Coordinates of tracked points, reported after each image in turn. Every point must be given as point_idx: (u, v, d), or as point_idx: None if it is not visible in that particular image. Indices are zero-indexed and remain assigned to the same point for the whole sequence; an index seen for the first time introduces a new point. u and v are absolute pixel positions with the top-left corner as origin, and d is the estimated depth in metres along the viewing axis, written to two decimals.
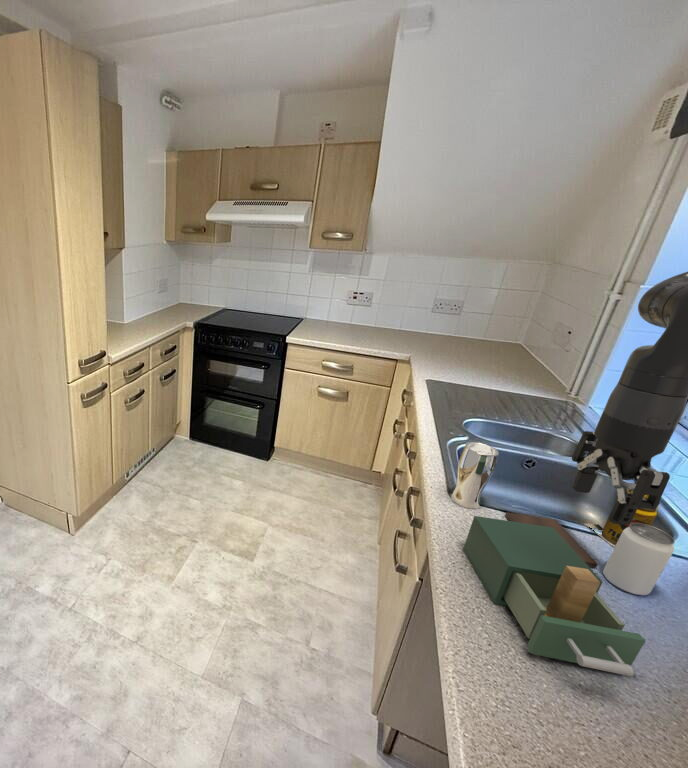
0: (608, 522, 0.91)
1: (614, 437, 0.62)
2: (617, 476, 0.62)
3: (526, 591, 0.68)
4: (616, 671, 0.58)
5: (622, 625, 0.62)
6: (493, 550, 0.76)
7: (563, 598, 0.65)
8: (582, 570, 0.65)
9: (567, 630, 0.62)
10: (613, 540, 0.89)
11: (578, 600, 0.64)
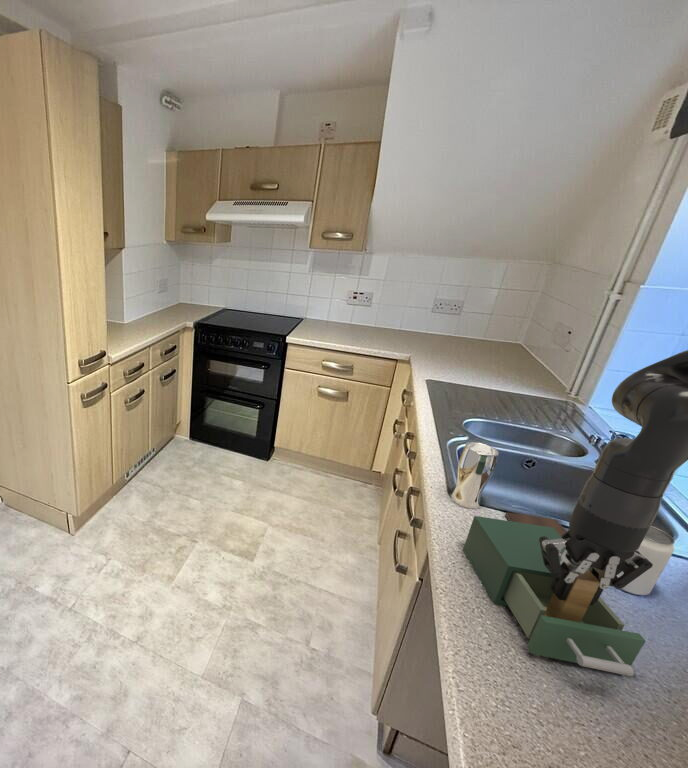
0: None
1: None
2: (565, 550, 0.65)
3: (526, 591, 0.68)
4: (616, 671, 0.58)
5: (622, 625, 0.62)
6: (493, 550, 0.76)
7: None
8: None
9: (567, 630, 0.62)
10: None
11: (578, 600, 0.64)
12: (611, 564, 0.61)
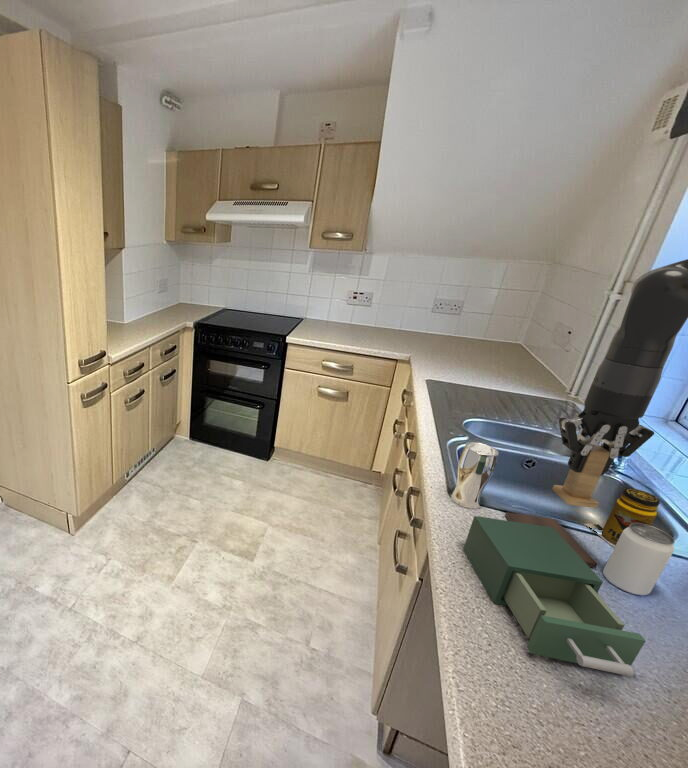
0: (608, 522, 0.91)
1: None
2: (581, 429, 0.77)
3: (526, 591, 0.68)
4: (616, 671, 0.58)
5: (622, 625, 0.62)
6: (493, 550, 0.76)
7: None
8: (595, 446, 0.76)
9: (567, 630, 0.62)
10: (613, 540, 0.89)
11: (591, 470, 0.76)
12: (620, 434, 0.73)
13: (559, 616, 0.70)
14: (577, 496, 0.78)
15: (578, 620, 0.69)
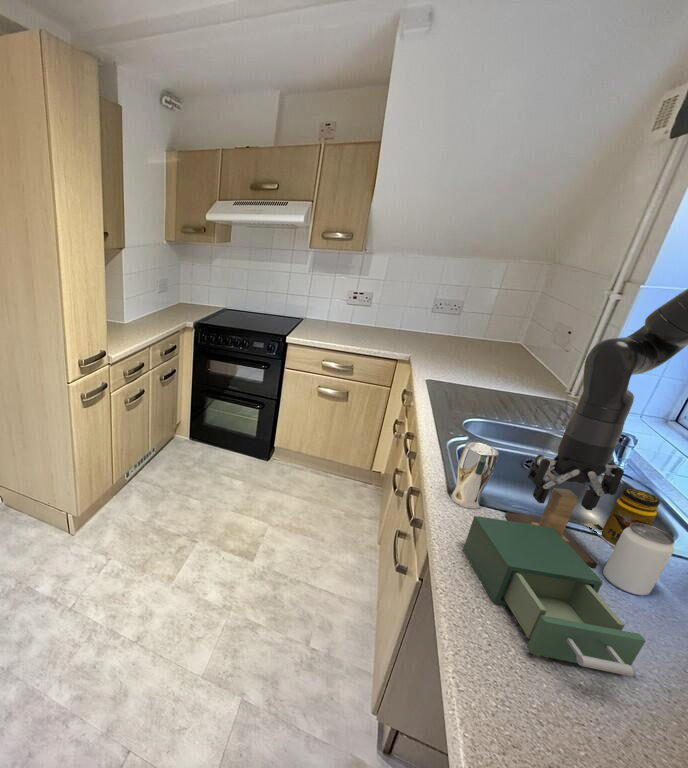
0: (608, 522, 0.91)
1: None
2: (551, 468, 0.87)
3: (526, 591, 0.68)
4: (616, 671, 0.58)
5: (622, 625, 0.62)
6: (493, 550, 0.76)
7: (551, 512, 0.87)
8: (565, 490, 0.87)
9: (567, 630, 0.62)
10: (613, 540, 0.89)
11: (562, 512, 0.86)
12: (592, 477, 0.82)
13: (559, 616, 0.70)
14: None
15: (578, 620, 0.69)
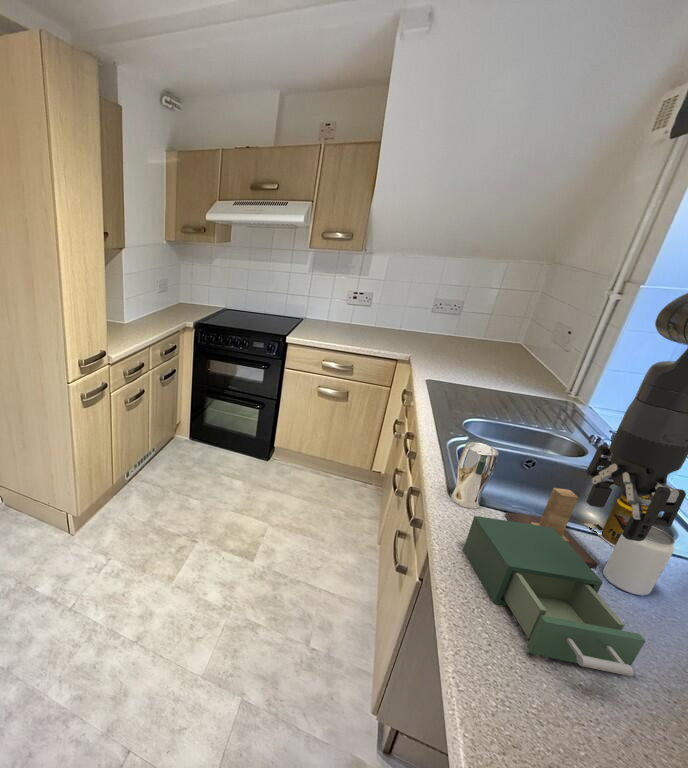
0: (608, 522, 0.91)
1: (629, 453, 0.61)
2: (632, 492, 0.62)
3: (526, 591, 0.68)
4: (616, 671, 0.58)
5: (622, 625, 0.62)
6: (493, 550, 0.76)
7: (551, 512, 0.87)
8: (565, 490, 0.87)
9: (567, 630, 0.62)
10: (613, 540, 0.89)
11: (562, 512, 0.86)
12: None
13: (559, 616, 0.70)
14: None
15: (578, 620, 0.69)
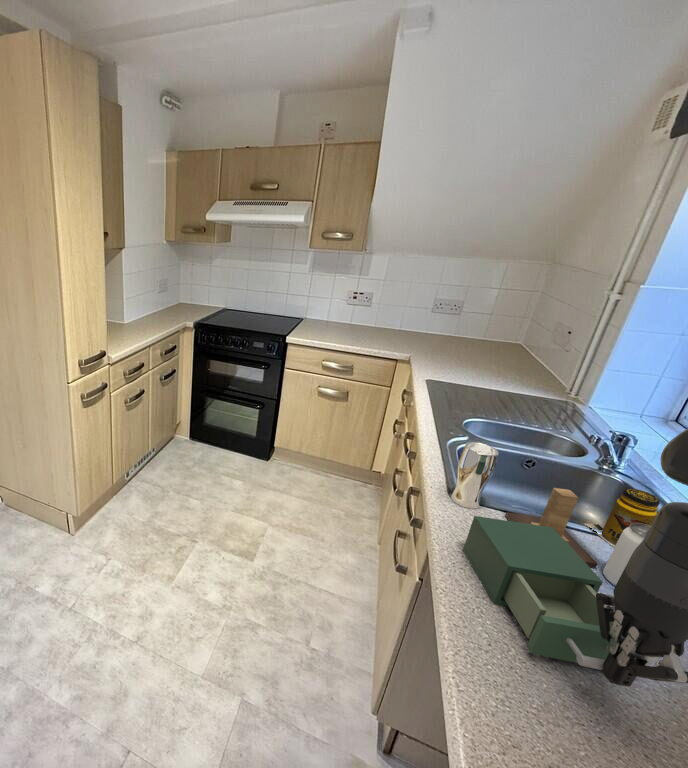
0: (608, 522, 0.91)
1: (639, 609, 0.51)
2: (630, 648, 0.53)
3: (526, 591, 0.68)
4: None
5: None
6: (493, 550, 0.76)
7: (551, 512, 0.87)
8: (565, 490, 0.87)
9: (567, 630, 0.62)
10: (613, 540, 0.89)
11: (562, 512, 0.86)
12: None
13: (559, 616, 0.70)
14: None
15: (578, 620, 0.69)
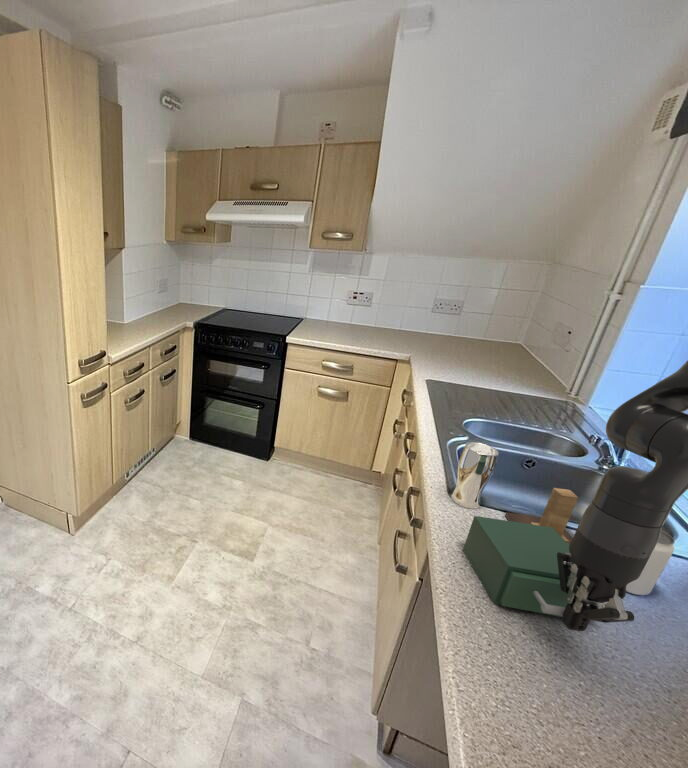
0: None
1: (588, 559, 0.59)
2: (583, 595, 0.62)
3: None
4: None
5: None
6: (493, 550, 0.76)
7: (551, 512, 0.87)
8: (565, 490, 0.87)
9: (534, 584, 0.70)
10: None
11: (562, 512, 0.86)
12: None
13: None
14: None
15: None
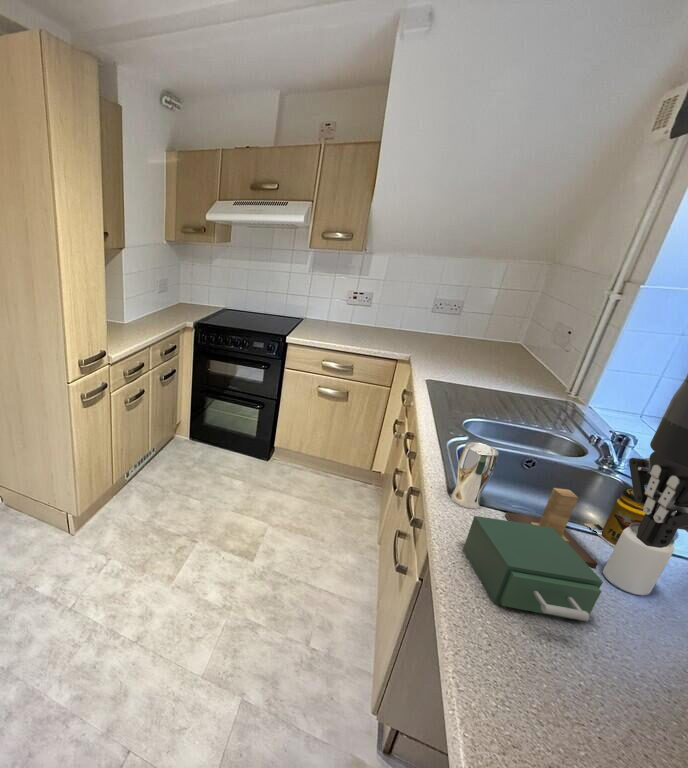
0: (608, 522, 0.91)
1: (680, 451, 0.48)
2: (669, 499, 0.50)
3: None
4: (574, 616, 0.66)
5: None
6: (493, 550, 0.76)
7: (551, 512, 0.87)
8: (565, 490, 0.87)
9: (534, 584, 0.70)
10: (613, 540, 0.89)
11: (562, 512, 0.86)
12: None
13: None
14: None
15: None
